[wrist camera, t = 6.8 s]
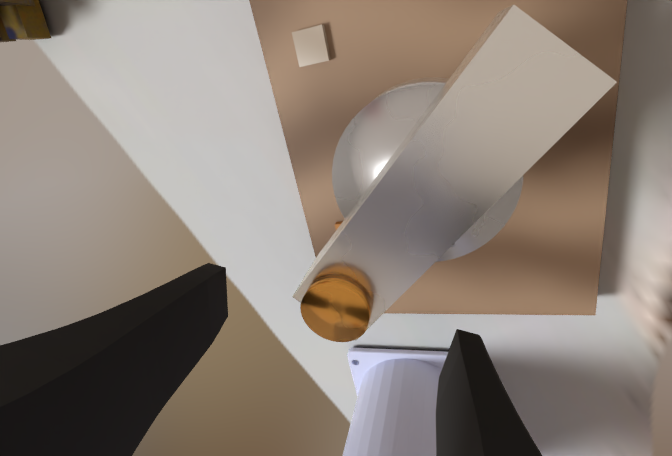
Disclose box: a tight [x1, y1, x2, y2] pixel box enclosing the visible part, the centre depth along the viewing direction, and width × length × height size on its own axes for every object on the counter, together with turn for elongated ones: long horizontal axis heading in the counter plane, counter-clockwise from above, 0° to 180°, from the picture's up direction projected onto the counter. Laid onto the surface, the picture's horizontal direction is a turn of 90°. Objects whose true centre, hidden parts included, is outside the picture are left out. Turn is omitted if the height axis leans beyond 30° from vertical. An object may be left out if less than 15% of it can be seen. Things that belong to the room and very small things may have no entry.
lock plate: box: [249, 0, 627, 315], centre depth 15 cm, size 20×14×6 cm
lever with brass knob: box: [293, 5, 617, 342], centre depth 11 cm, size 9×6×5 cm, turn 149°
